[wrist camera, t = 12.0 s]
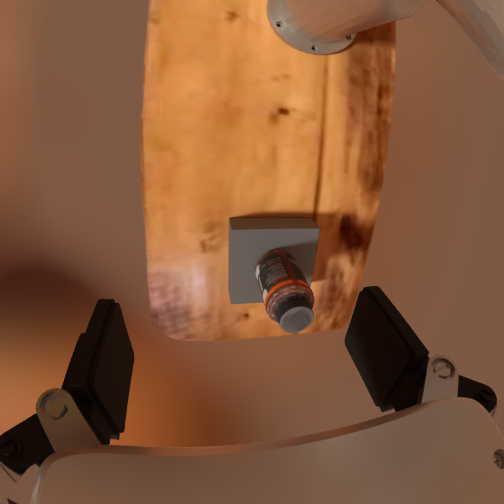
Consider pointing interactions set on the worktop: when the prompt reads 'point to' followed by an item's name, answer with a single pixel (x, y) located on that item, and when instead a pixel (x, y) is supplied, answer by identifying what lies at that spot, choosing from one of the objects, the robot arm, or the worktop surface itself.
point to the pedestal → (267, 250)
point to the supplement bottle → (285, 291)
